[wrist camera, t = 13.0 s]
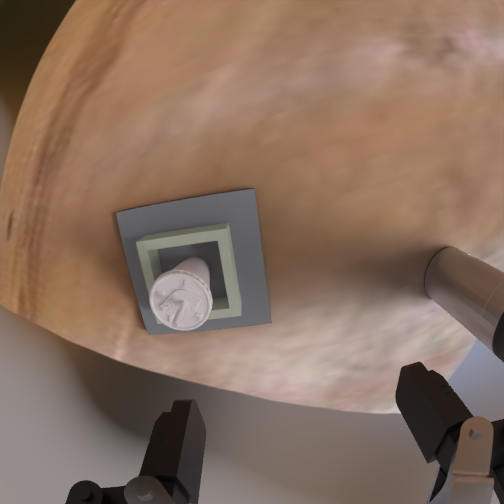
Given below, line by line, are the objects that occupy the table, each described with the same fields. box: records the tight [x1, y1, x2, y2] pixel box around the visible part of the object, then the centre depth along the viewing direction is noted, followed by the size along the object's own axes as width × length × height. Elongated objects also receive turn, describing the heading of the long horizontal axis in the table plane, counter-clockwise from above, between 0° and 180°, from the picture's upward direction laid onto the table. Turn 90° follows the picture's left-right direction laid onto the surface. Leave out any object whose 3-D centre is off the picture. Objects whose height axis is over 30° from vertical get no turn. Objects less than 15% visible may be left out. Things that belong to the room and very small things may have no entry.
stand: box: [116, 188, 272, 335], centre depth 35 cm, size 18×18×5 cm
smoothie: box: [149, 256, 213, 331], centre depth 30 cm, size 6×6×14 cm
